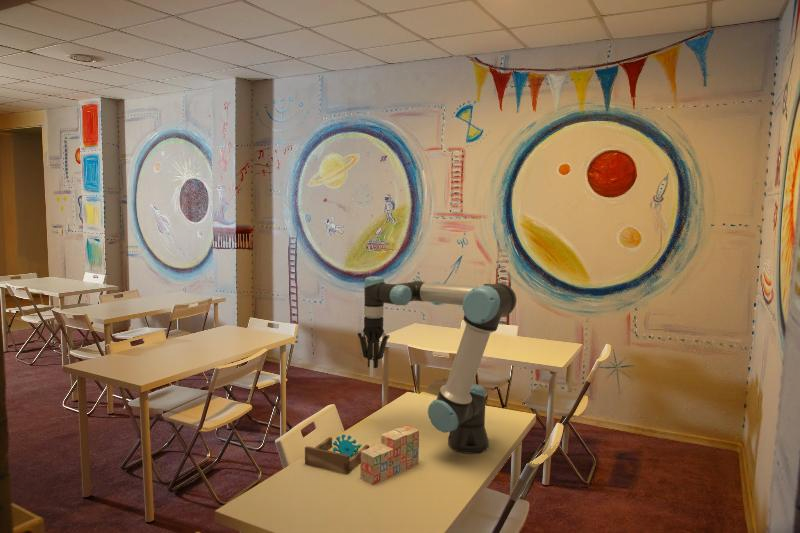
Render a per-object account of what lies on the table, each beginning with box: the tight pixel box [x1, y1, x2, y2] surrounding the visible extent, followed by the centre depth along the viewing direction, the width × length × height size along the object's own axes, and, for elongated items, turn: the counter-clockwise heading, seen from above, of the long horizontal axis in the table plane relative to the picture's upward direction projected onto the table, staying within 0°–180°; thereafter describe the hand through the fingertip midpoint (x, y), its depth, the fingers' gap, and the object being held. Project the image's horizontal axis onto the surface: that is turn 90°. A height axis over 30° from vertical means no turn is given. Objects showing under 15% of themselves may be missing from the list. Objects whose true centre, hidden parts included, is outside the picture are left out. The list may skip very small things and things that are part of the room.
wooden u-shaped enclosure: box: [304, 436, 370, 475], centre depth 186 cm, size 16×16×6 cm
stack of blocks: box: [359, 425, 420, 485], centre depth 178 cm, size 21×6×12 cm, turn 135°
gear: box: [332, 433, 362, 459], centre depth 189 cm, size 11×6×10 cm
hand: (372, 375), depth 210 cm, fingers closed
